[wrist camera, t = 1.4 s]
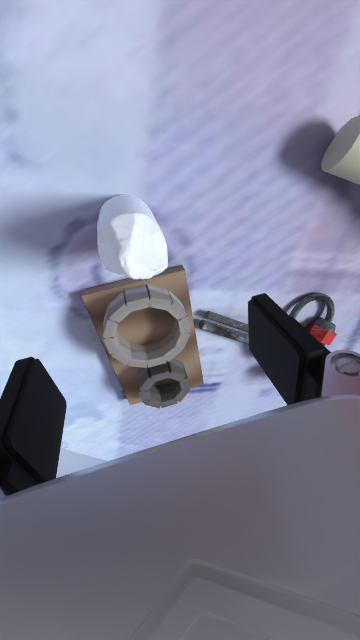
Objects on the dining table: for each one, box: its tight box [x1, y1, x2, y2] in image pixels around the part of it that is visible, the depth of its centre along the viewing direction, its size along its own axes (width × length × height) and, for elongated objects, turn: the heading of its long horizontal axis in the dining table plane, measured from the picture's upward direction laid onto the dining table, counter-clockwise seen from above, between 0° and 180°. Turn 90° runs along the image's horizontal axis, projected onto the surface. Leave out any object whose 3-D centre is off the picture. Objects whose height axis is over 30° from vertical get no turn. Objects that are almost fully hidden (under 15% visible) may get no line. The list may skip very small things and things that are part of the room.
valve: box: [199, 293, 337, 346], centre depth 40 cm, size 6×26×15 cm
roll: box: [97, 195, 168, 279], centre depth 23 cm, size 6×12×6 cm
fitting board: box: [81, 265, 204, 408], centre depth 35 cm, size 20×12×4 cm, turn 10°
